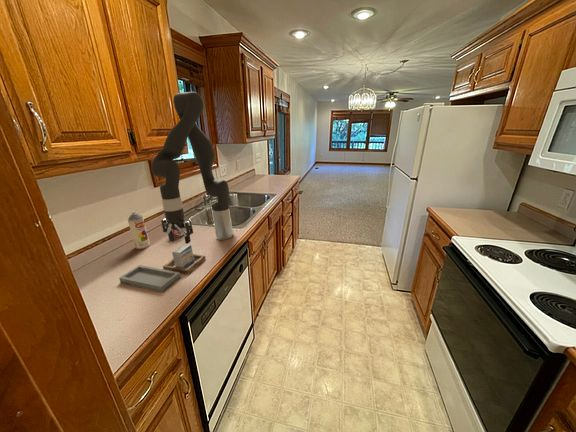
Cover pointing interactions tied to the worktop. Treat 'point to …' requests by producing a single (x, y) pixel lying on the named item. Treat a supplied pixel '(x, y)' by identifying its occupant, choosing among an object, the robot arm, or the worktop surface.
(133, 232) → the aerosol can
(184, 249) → the medicine box
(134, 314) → the worktop surface
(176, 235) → the soda can
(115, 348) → the worktop surface
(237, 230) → the worktop surface
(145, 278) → the charcoal tray
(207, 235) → the worktop surface
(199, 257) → the frame
